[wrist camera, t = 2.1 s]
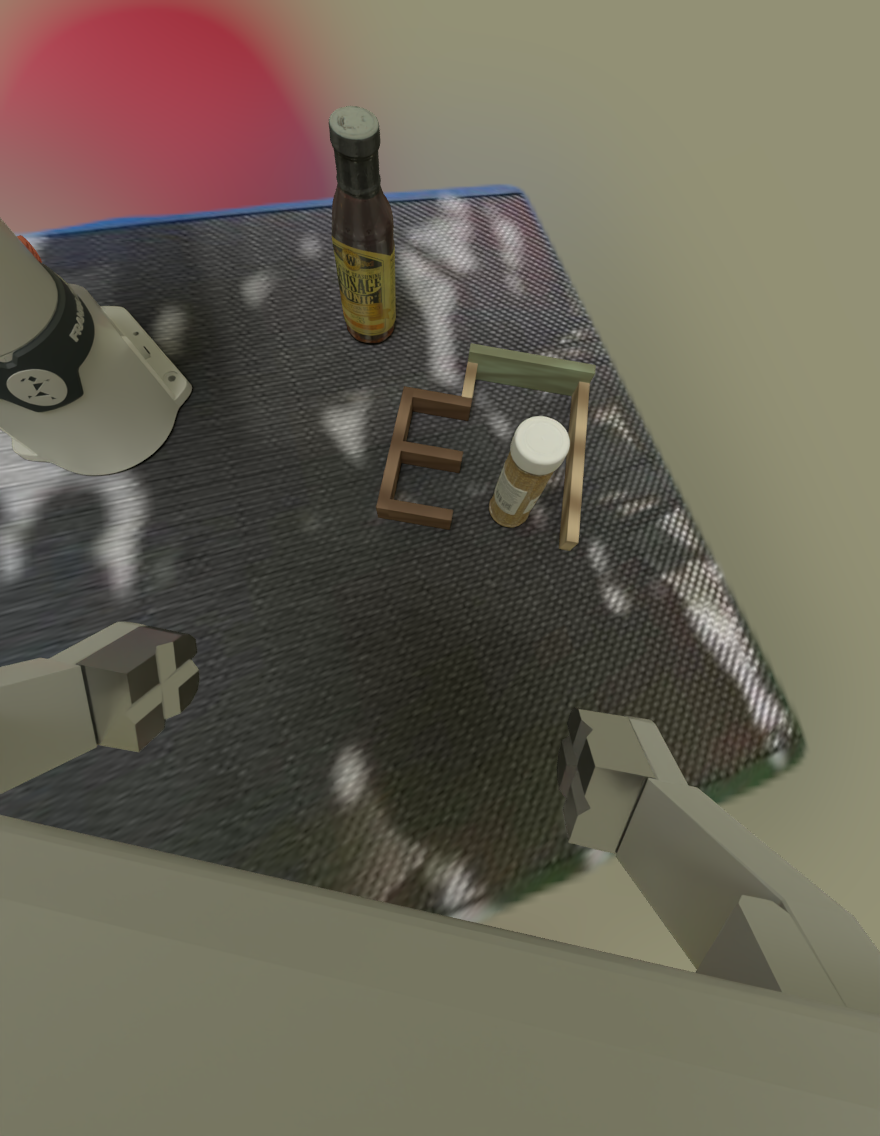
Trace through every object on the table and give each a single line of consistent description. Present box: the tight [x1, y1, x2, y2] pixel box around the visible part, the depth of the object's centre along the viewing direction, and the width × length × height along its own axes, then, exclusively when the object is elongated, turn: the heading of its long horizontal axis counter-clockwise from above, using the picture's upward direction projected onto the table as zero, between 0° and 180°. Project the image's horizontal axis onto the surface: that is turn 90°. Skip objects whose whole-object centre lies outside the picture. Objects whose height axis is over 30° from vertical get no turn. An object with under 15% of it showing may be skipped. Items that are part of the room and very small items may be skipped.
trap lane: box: [376, 343, 595, 551], centre depth 46 cm, size 21×21×4 cm
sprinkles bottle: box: [489, 416, 570, 527], centre depth 40 cm, size 5×5×13 cm
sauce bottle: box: [329, 106, 396, 343], centre depth 43 cm, size 6×6×20 cm
